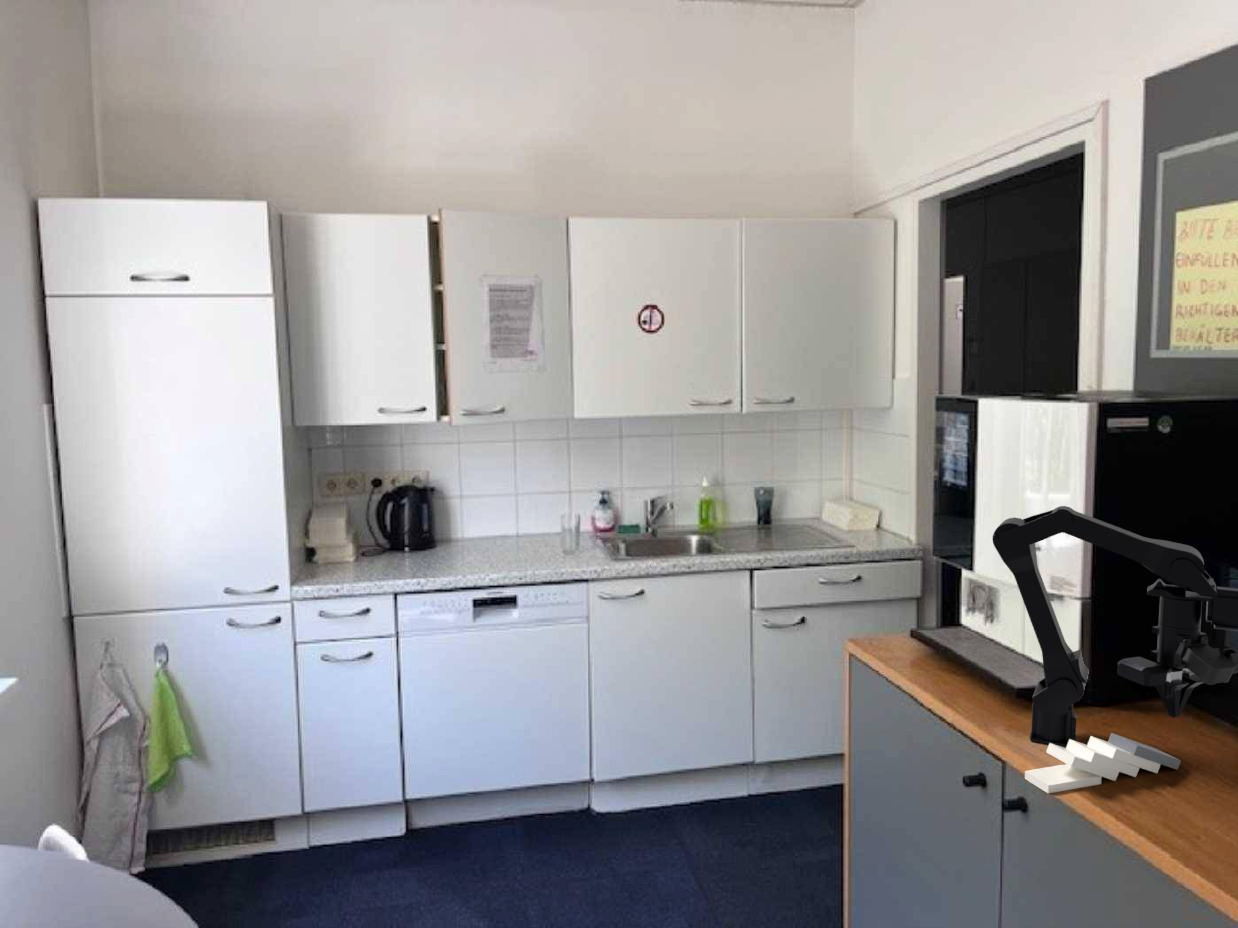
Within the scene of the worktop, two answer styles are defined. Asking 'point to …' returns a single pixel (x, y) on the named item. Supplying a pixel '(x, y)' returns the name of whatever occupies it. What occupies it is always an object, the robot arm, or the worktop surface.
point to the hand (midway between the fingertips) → (1173, 716)
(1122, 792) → the worktop surface
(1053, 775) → the domino
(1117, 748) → the domino
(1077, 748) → the domino
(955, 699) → the worktop surface
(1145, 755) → the domino
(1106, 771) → the domino
